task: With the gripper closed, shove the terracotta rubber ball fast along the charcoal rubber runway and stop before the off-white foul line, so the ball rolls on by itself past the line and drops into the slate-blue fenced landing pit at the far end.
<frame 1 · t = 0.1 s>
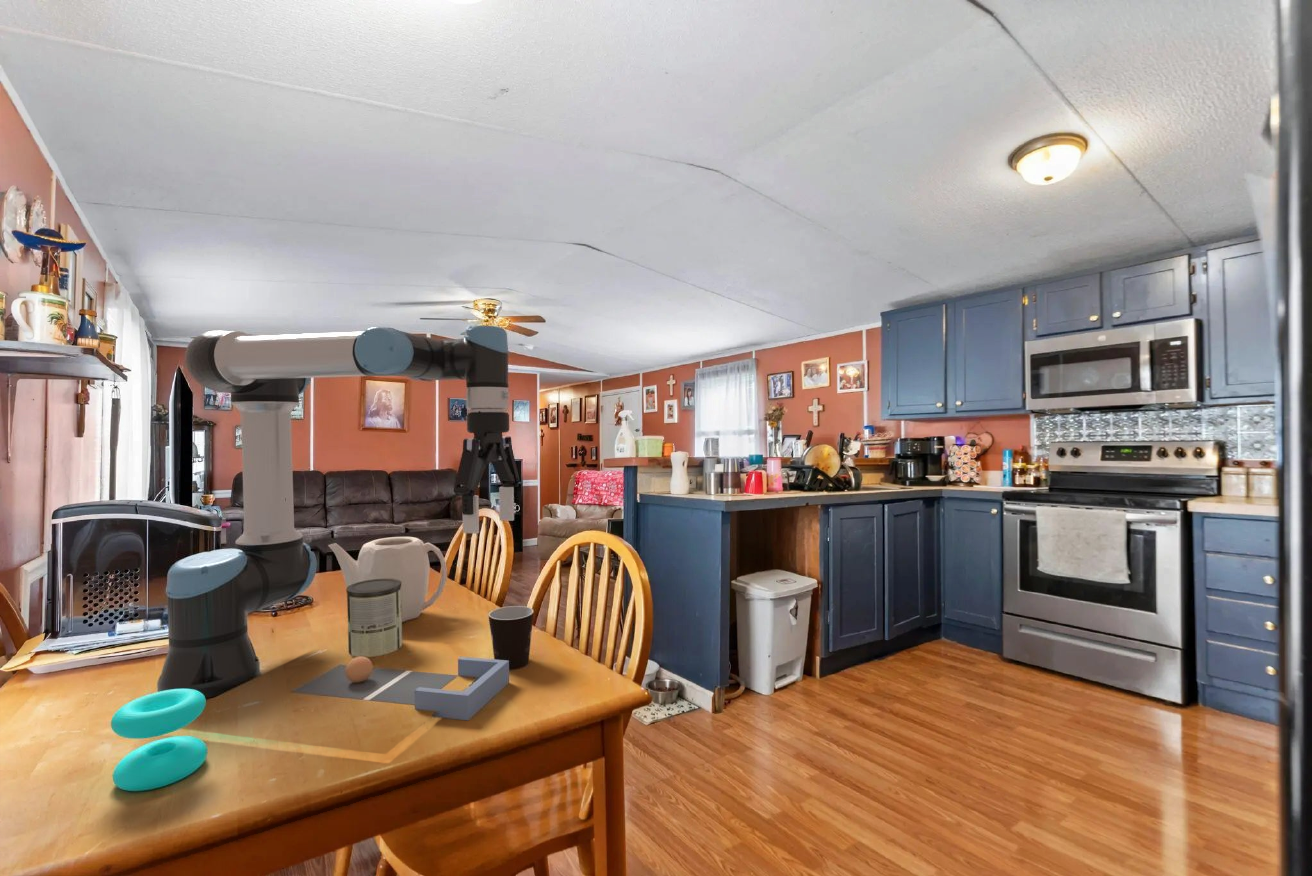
hand: (489, 526, 114), 28 cm above the table, fingers open, 13 cm apart
runway: (376, 688, 109), on the table
coffee mug: (515, 661, 122), on the table
landing pit: (460, 697, 106), on the table
ball: (359, 681, 110), point 1 cm above the table, touching runway
white teapot: (389, 618, 149), on the table
coffee can: (375, 653, 126), on the table
donuts: (162, 774, 83), on the table
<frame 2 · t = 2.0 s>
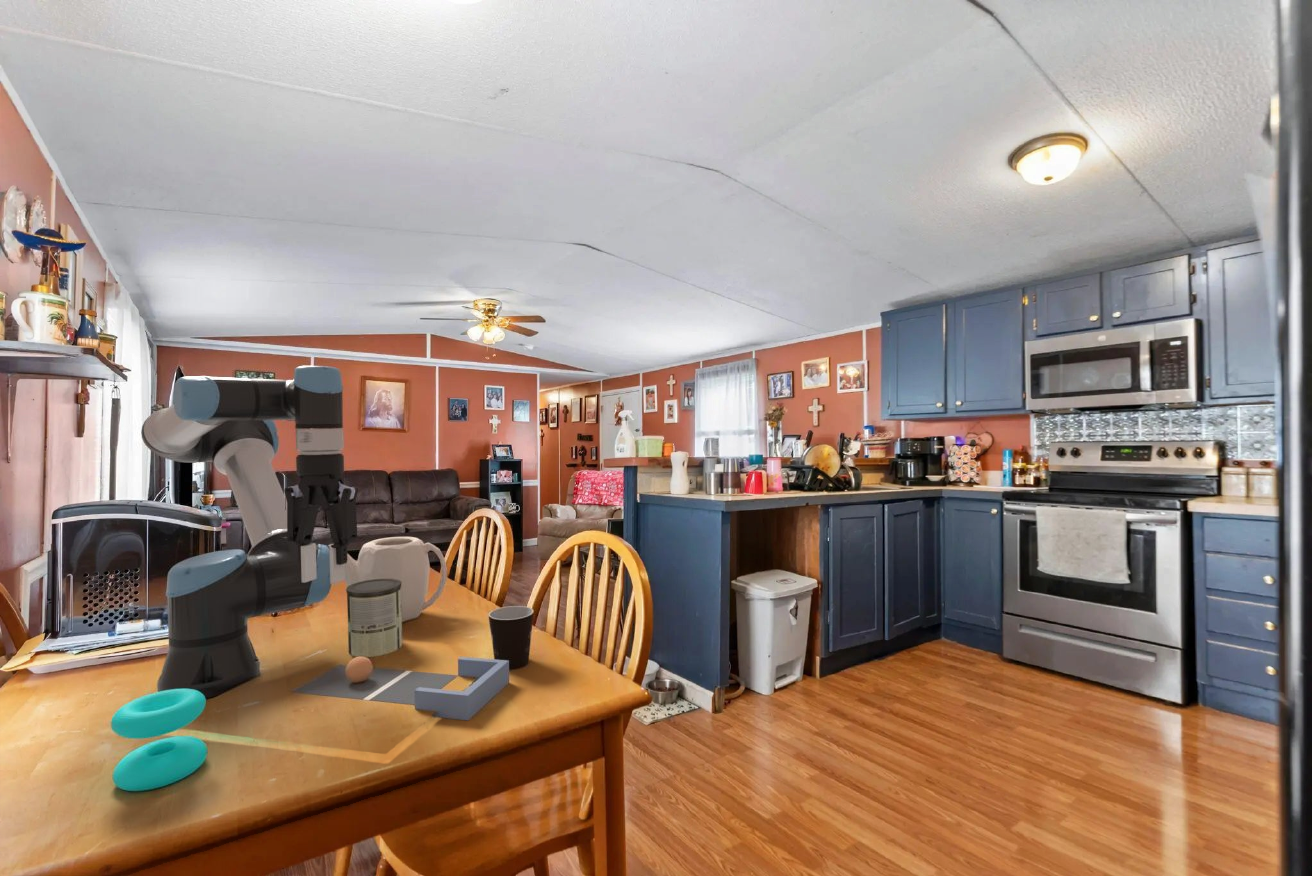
hand: (323, 581, 111), 19 cm above the table, fingers open, 5 cm apart
nothing on the table moved.
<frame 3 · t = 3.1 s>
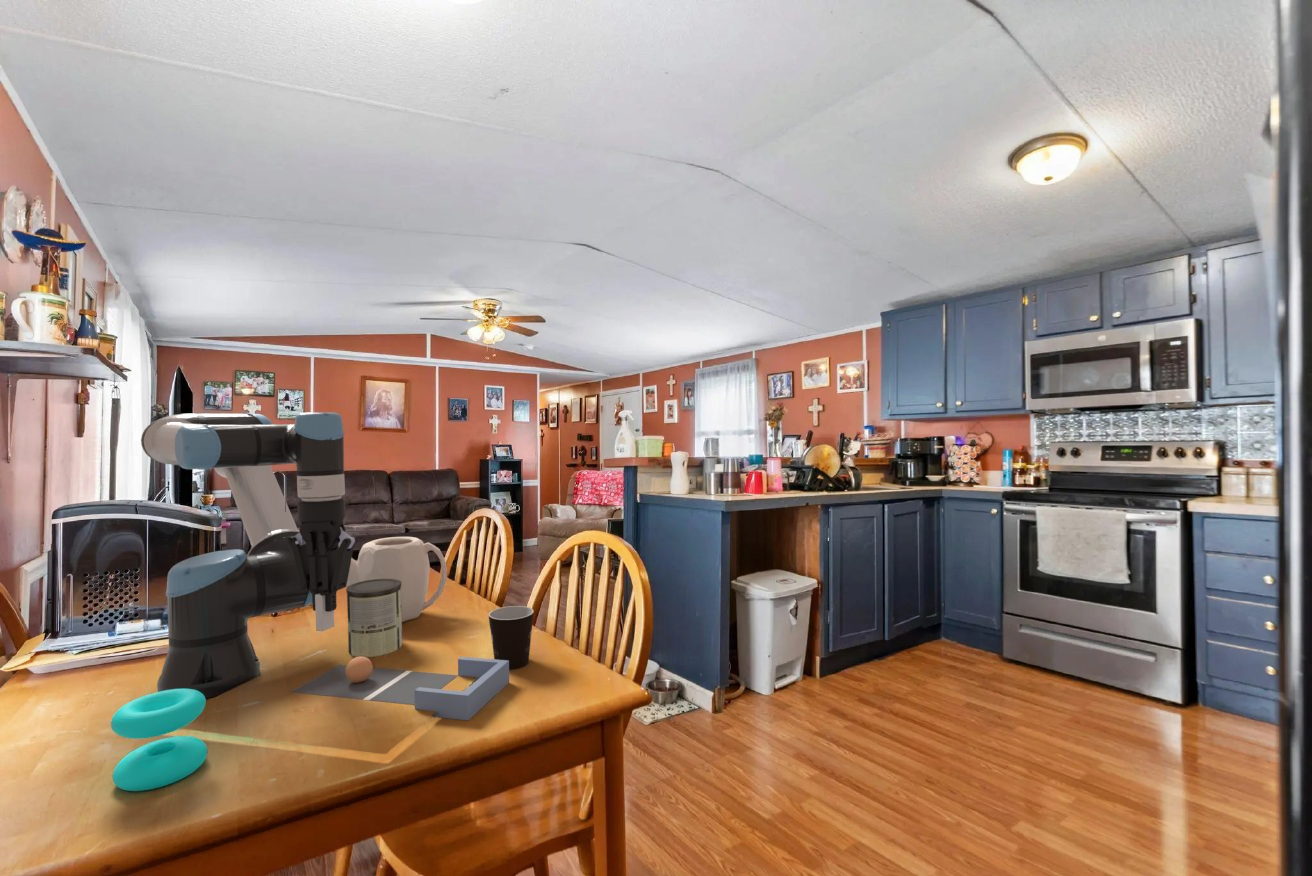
hand: (325, 628, 111), 10 cm above the table, fingers closed
nothing on the table moved.
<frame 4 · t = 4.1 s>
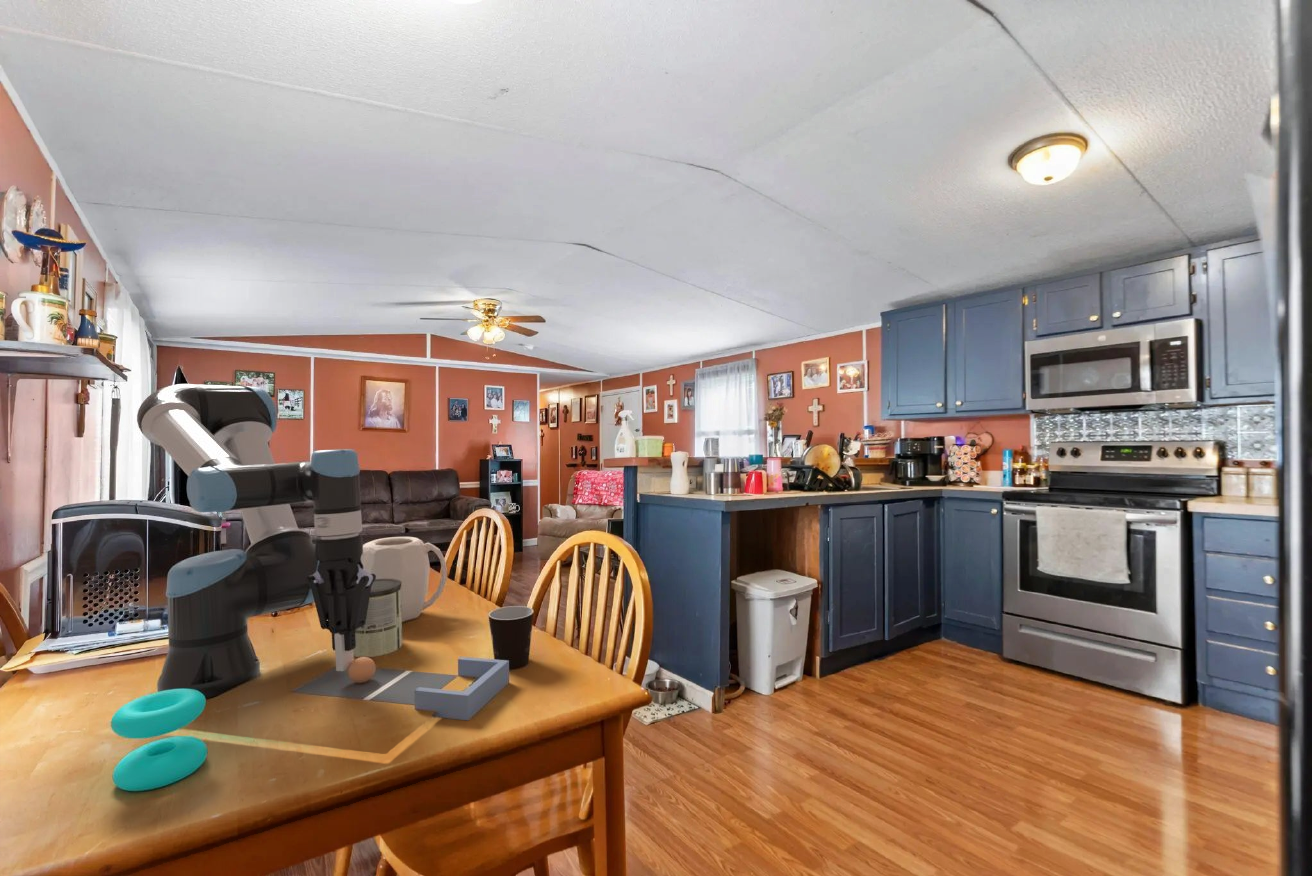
hand: (345, 667, 109), 4 cm above the table, fingers closed
ball: (361, 681, 110), point 1 cm above the table, tilted 8°, touching gripper, runway
everything else where it was.
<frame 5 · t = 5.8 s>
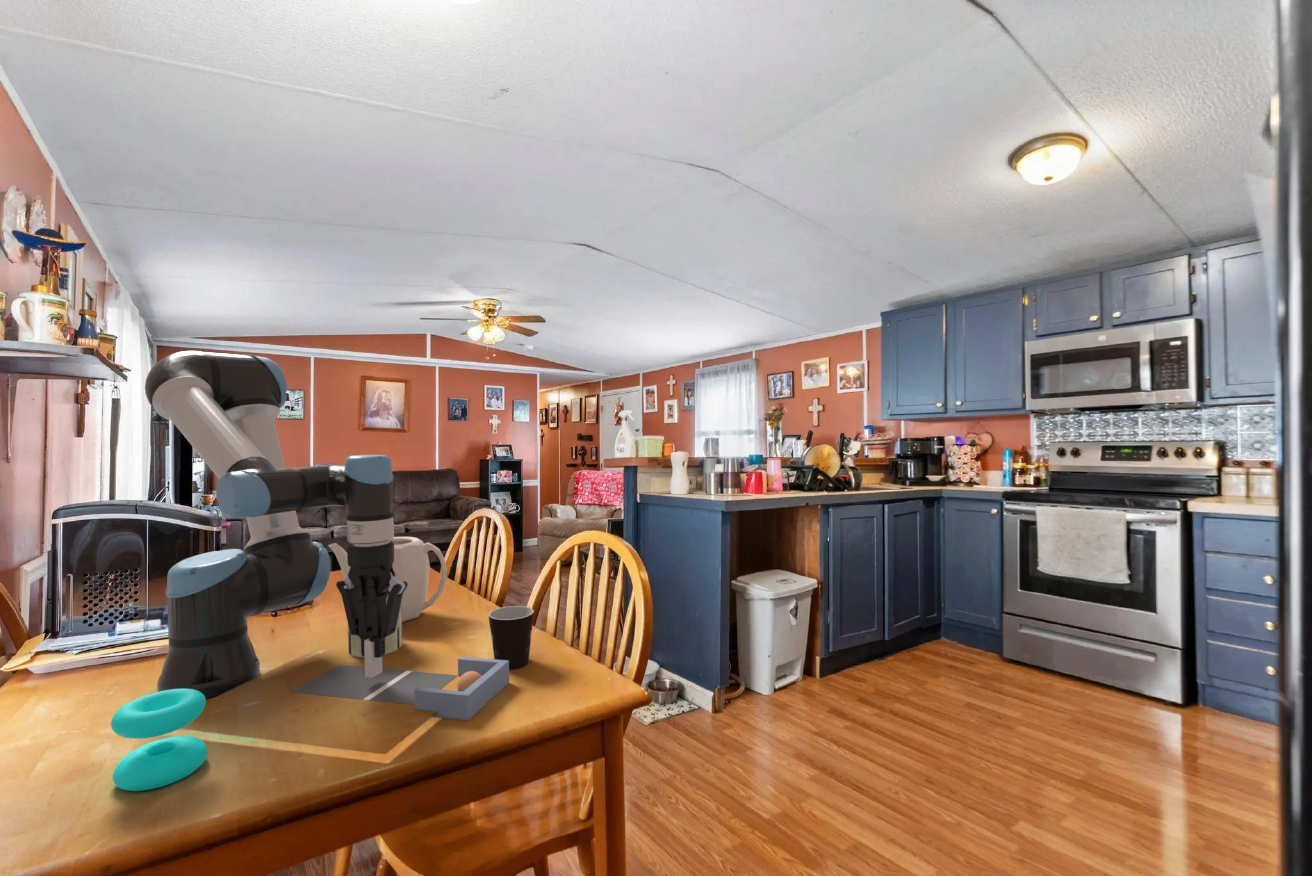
hand: (373, 674, 109), 3 cm above the table, fingers closed
ball: (464, 672, 106), point 4 cm above the table, tilted 152°
everything else where it was.
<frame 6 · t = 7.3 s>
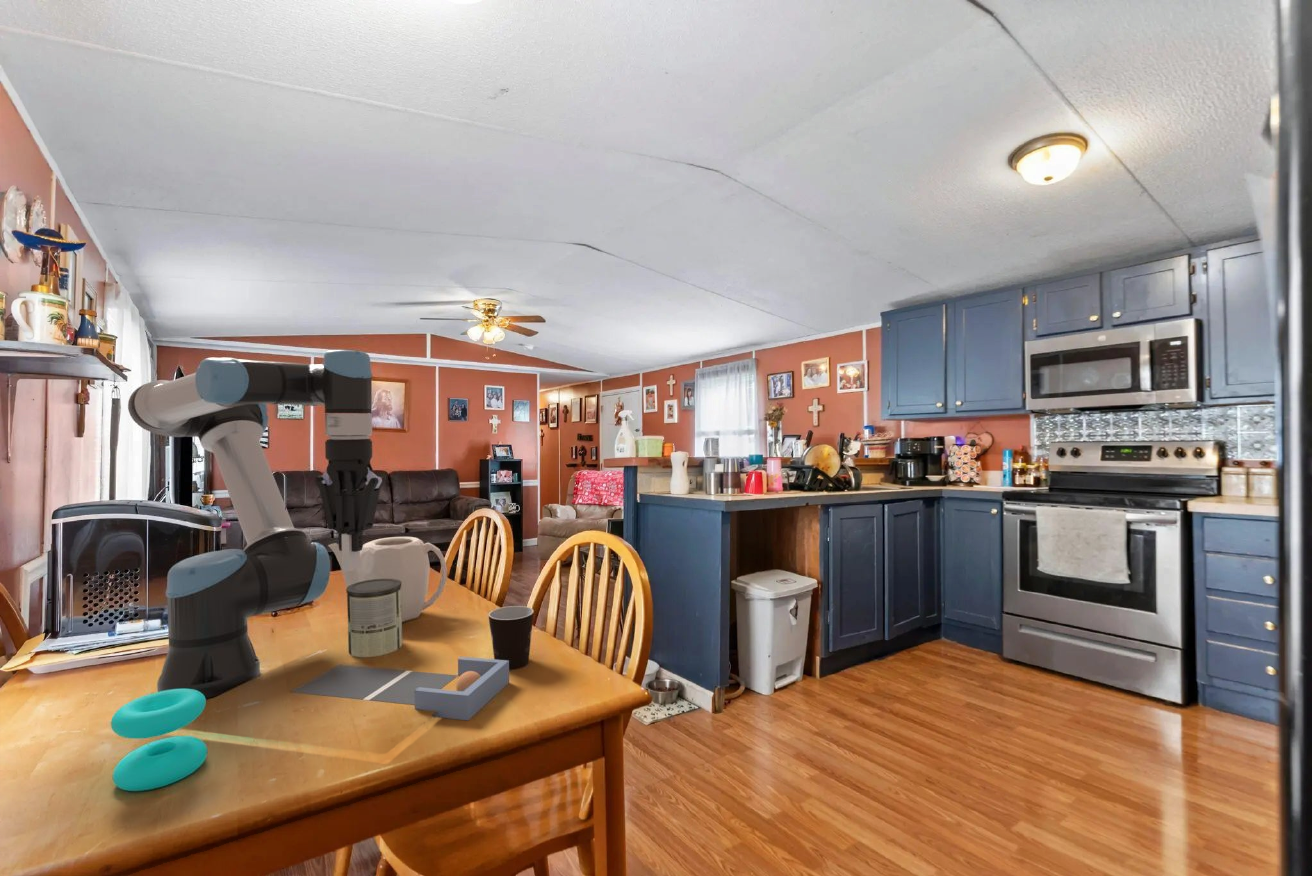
hand: (351, 568, 110), 21 cm above the table, fingers closed
nothing on the table moved.
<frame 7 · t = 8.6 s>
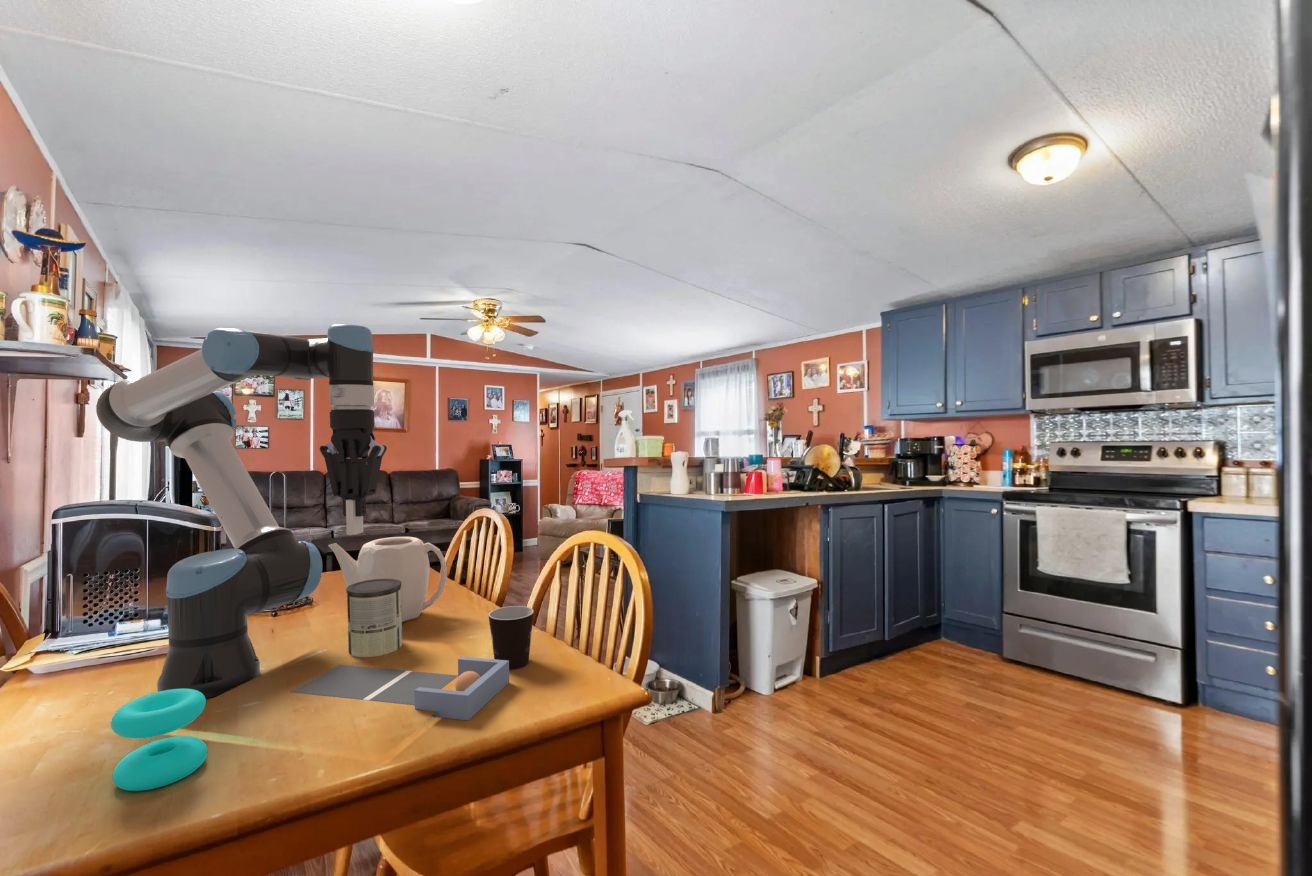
hand: (355, 533, 116), 26 cm above the table, fingers closed
nothing on the table moved.
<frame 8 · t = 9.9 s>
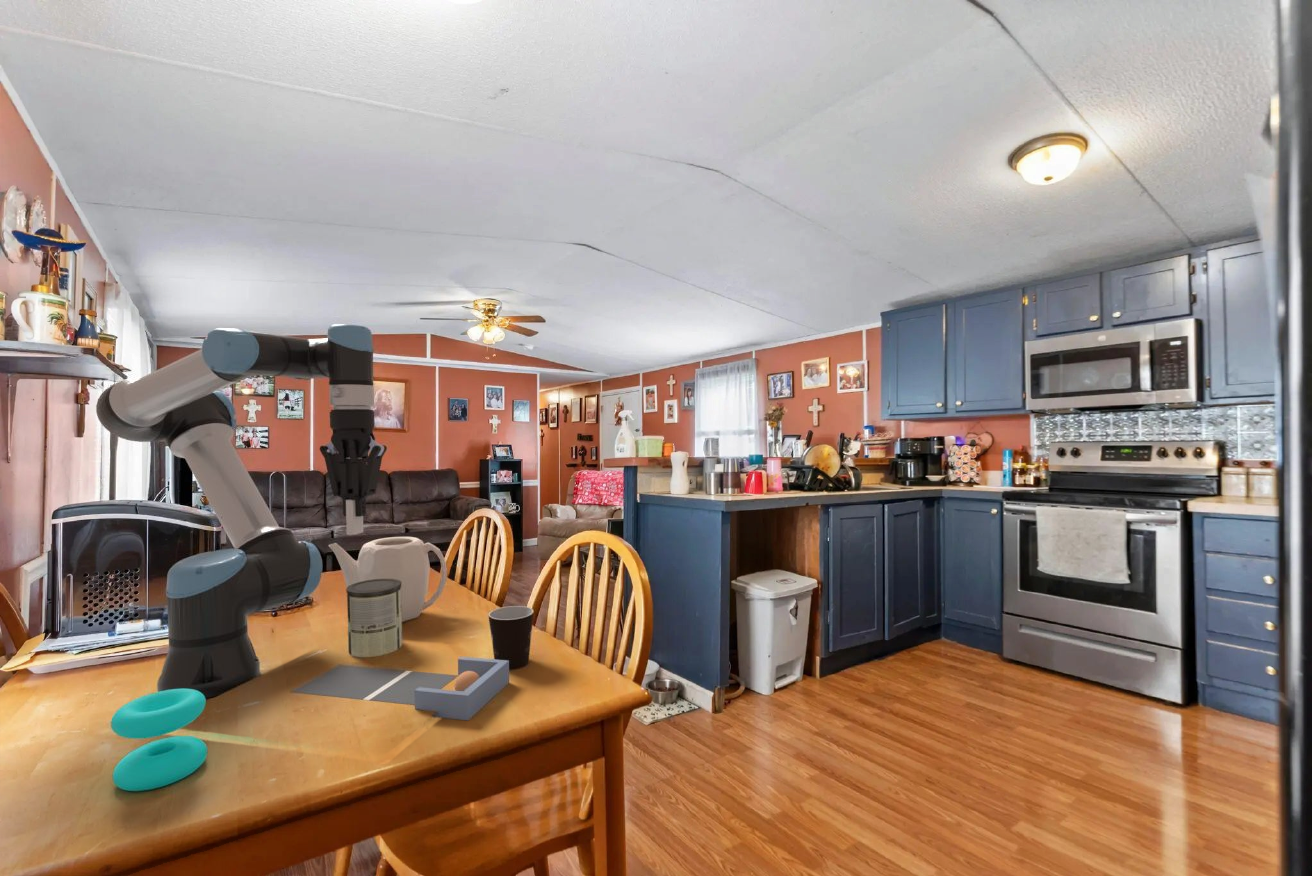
hand: (355, 533, 116), 26 cm above the table, fingers closed
nothing on the table moved.
at the end: ball inside the target area (2.3 cm from its centre), point 3.9 cm above the table; ball moved 20.0 cm from its start; the gripper is holding nothing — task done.
